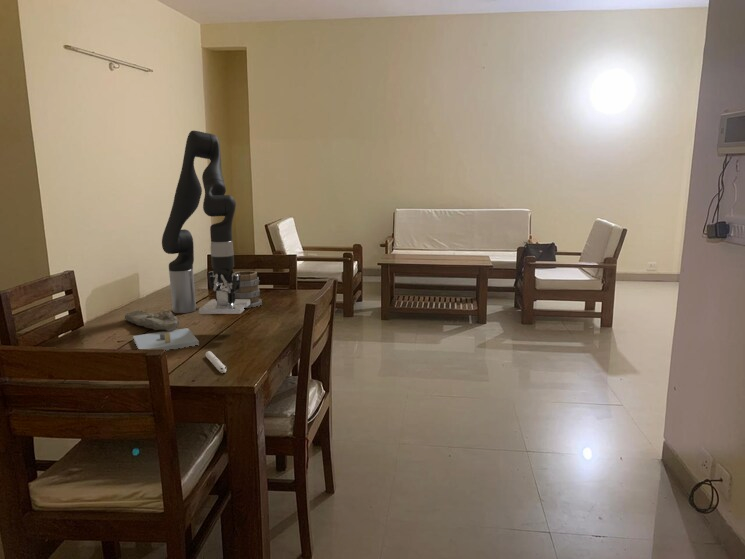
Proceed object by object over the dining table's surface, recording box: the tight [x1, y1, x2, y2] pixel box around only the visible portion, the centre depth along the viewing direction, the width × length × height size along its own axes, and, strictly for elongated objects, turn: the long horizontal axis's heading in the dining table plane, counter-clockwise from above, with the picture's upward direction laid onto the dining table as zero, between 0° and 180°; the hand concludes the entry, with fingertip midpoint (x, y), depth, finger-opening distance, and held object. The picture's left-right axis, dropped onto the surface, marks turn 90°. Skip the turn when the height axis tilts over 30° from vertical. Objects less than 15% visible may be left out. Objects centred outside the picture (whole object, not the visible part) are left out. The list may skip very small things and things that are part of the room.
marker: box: [205, 350, 227, 374], centre depth 162 cm, size 18×2×2 cm, turn 30°
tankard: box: [224, 270, 263, 309], centre depth 236 cm, size 20×13×15 cm, turn 58°
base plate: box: [132, 327, 200, 352], centre depth 184 cm, size 18×18×4 cm
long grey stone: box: [124, 310, 179, 331], centre depth 204 cm, size 35×5×10 cm
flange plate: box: [198, 287, 250, 315], centre depth 192 cm, size 14×14×7 cm
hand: (225, 301), depth 192 cm, fingers closed on flange plate, 5 cm apart
